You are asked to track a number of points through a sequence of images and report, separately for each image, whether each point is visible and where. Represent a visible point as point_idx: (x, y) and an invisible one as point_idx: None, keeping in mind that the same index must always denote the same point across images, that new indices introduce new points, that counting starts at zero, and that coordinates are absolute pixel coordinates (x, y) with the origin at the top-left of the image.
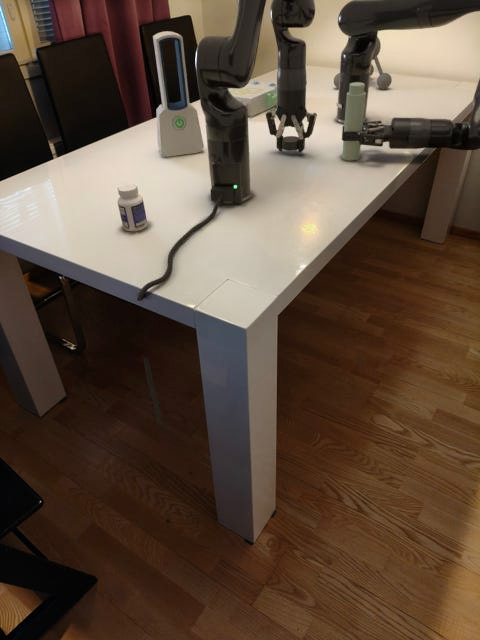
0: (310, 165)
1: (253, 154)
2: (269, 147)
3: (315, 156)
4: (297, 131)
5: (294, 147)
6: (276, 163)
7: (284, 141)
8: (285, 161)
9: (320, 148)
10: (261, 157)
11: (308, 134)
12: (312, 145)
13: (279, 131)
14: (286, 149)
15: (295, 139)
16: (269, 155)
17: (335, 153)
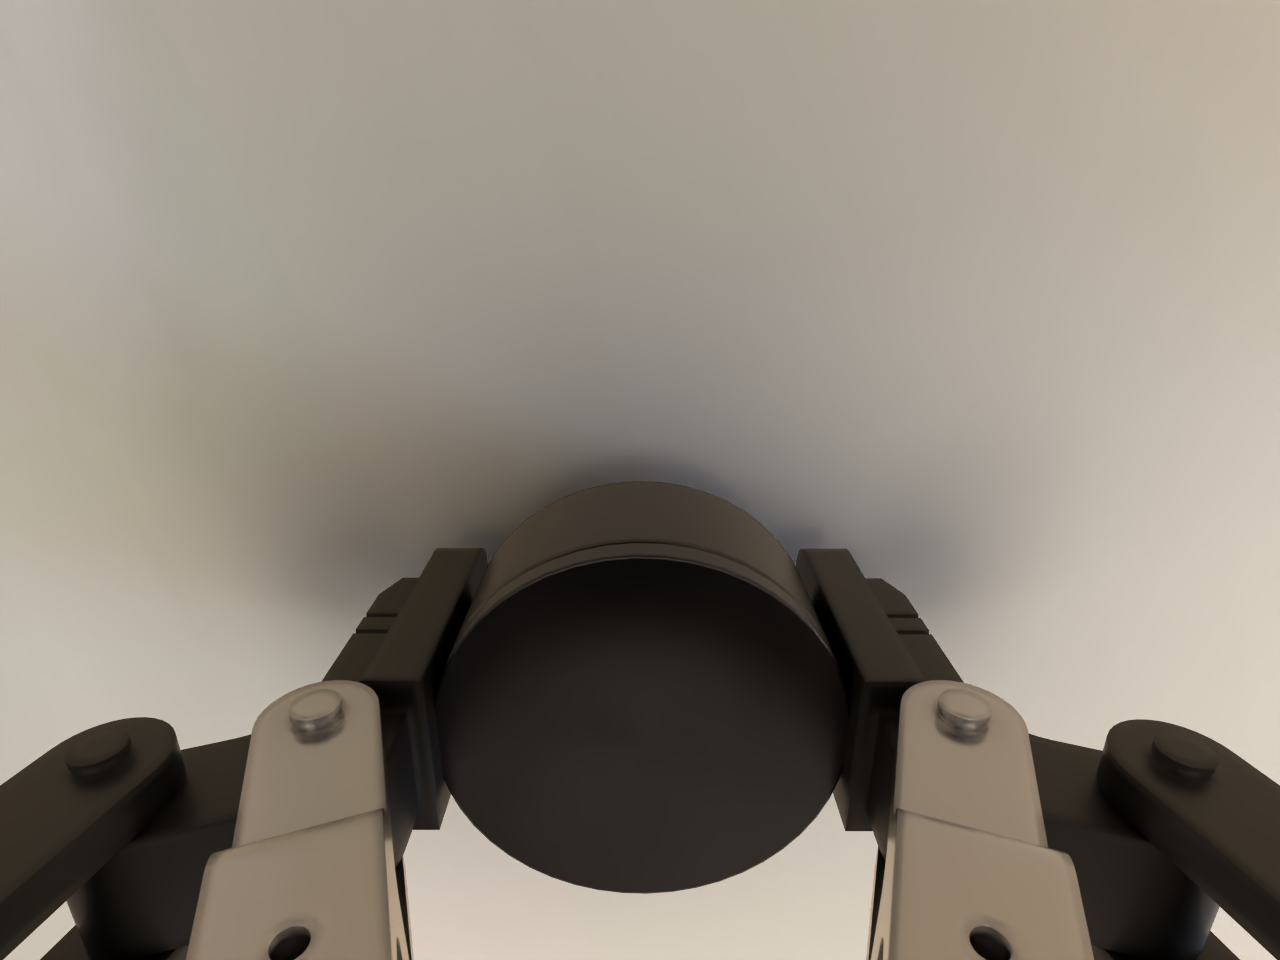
0: (74, 110)
1: (1270, 403)
2: None
3: (216, 556)
4: (349, 816)
5: (515, 545)
6: (746, 36)
7: (739, 578)
8: (607, 200)
9: None
10: (1103, 292)
11: (54, 785)
12: (450, 911)
13: (969, 804)
14: (672, 491)
15: (530, 740)
16: (971, 424)
17: (10, 726)
